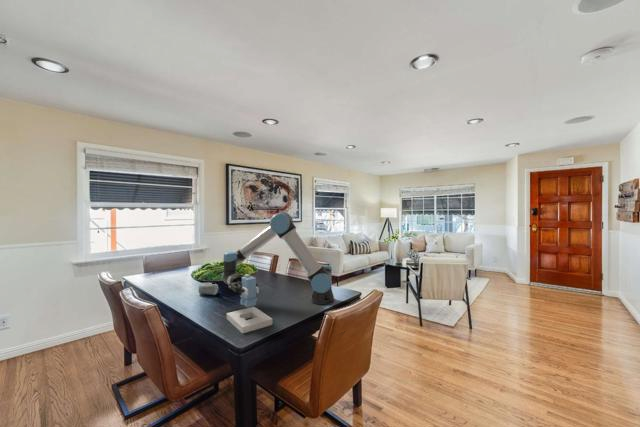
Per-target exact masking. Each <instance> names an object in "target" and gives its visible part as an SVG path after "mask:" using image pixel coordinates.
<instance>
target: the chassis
mask: <svg viewBox="0 0 640 427" xmlns="http://www.w3.org/2000/svg"><path fill="white" fill-rule="evenodd" d="M226 320H228V322H229V323H231V324H232V326H234V327H235V328H236V329H237V330H238V331H239V332H240V333H241V334H245V333H250V332H252V331H256V330H259V329H262V328H267V327H270V326H273V324H274V323H273V318H272V317H270V316H269V315H267V314H266V313H264V312H263V311H262V310H260V309H258V308H257V307H255V306H250V307H246V308H244V309H242V308H241V309H239V310H234V311H231V312H226Z"/></svg>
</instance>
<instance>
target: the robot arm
mask: <svg viewBox="0 0 640 427" xmlns="http://www.w3.org/2000/svg"><path fill="white" fill-rule="evenodd" d="M293 220H294V219H293V217H292V216H291V215H290V214H289V213H286V212H278V213H275V214H274V215H272V216H271V218H270V220H269V226H268V227H266V228H265V229H264V230H263V231H261V232H260V233H259V234H257V235H256V236H255V237H254V238H252V239H250V241H247V243H245V245H243V246H241V247H240V248H239V249H238V250H237V251H226V252H224V253H223V258H222V260H223V272H222V274H221V280H222V282H223V283H224V284H226V285H228V289H229V290H231V291H233V292H235V293H239V294H242V293H244V294H246V295H248V289H246V288H245V287H242V277H243V276H241V275H239V274H238V273H237V270H238V269H237V268H238V265H239V264H241V263H243V262H244V261H245V260H247V258H250V256H251V255H253V254H255V252H257V251H258V250H259V249H261V248H262V247H263V246H265V245H266V244H267V243H268V242H270V241H272V240H273V239H274V238H276V236H278V238H279V239H280V240H283V241H284V242H285V243H286V245H287V246H288V247H289V249H290V251H291V252H292V253H293V255H294V256H295V258H296V259H297V261H298V262H299V264H301V266H302V268H303V269H304V270H305V272H306V278H307V279H308V280H309V282H310V283H311V288H312V293H311V296H310V302H311V303H312V304H315V305H330V304H333V303H334V302H335V295H334V292H333V290H332V284H333V281H332V279H333V278H332V277H333V276H332V274H333V273H332V270H333V269H332V266H331V265H327V264H320V263H318V260H316V258H315V256H313V254H312V252H311V251H310V249H308V247H307V245H306V244H305V243H304V241H303V240H302V238H301V237H300V235H299V234H298V232H297V227H296V225H295V224H294V221H293ZM258 285H259V284H258V283H257V282H256V294H259V292H260V287H259V286H258Z"/></svg>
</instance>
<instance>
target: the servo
mask: <svg viewBox="0 0 640 427" xmlns="http://www.w3.org/2000/svg"><path fill="white" fill-rule="evenodd" d="M241 277H242V287H245V288H246V289H248V295H246V294H244V293H241V294H240V295H239V296H240V305H241V306H245V308H250V307H255V306H256V305H257V301H258V299H259V298H257V293H256V283H257V278H256V277H254V276H252V275H250V274H247V273H246V274H244V276H241Z"/></svg>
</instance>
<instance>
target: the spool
mask: <svg viewBox="0 0 640 427" xmlns="http://www.w3.org/2000/svg"><path fill="white" fill-rule="evenodd" d="M212 283H213V282H202V283H200V284H199V286H198V294H200V295H207V296H216V295H217V293H218V291H219V285H218V284H216V283H215V284H212Z"/></svg>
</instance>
